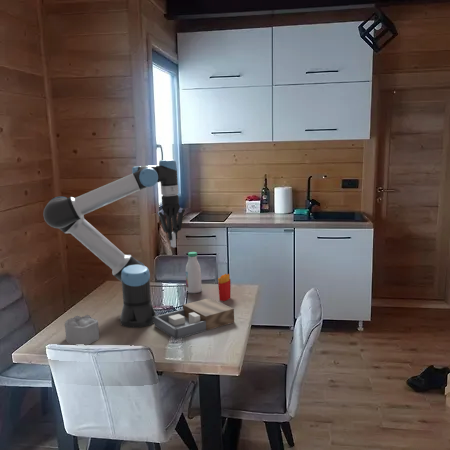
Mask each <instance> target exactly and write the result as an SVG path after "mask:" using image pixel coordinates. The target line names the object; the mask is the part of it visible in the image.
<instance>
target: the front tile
mask: <svg viewBox="0 0 450 450" xmlns="http://www.w3.org/2000/svg"><path fill="white" fill-rule="evenodd" d="M197 322H200V315H198V314H196V313H195V312H192V313H189V325H190V324H193V323H197Z"/></svg>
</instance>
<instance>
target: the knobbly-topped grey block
mask: <svg viewBox="0 0 450 450" xmlns="http://www.w3.org/2000/svg"><path fill="white" fill-rule="evenodd" d="M64 330H65V341H66V342H67V343H68V344H69V343H70V345H73V344H84V345H85V346H89V345H91V344H92V343H94V342H96V341H98V340H99V339H100V330H99V320H98V319H96V318H93V317H92V316H90V315H88V314H86V315H84V316H80V315H75V316H74V317H70V318H69V319H66V320H65V322H64Z"/></svg>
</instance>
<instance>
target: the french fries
mask: <svg viewBox="0 0 450 450" xmlns="http://www.w3.org/2000/svg"><path fill="white" fill-rule="evenodd" d="M230 275H231V274H230V273H225V274H221V276H220V277H218V278H217V285H218V295H219V297H218V298H219V302H220V301H221V302H225V301H228V300H230V299H231V291H232V290H231V288H232V287H231V285H232V284H231V283H232V282H231V281H232V280H231V278H230V277H231V276H230Z"/></svg>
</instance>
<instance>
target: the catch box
mask: <svg viewBox="0 0 450 450" xmlns="http://www.w3.org/2000/svg"><path fill="white" fill-rule="evenodd" d="M176 314H180V315H182V316H184V317H185V313H184V309H183V308H182V309H178V310H174V311H170V312H168V313H167V312H166V313H163V314H158V315H156V316H154V323H153V324H154V327H156V328H157V329H159V330H160V331H161V332H163V331H164V332H163V333H165V334H166V333H167V335H168V336H170V337H171V338H173V339H174V338H175V339H174V340H179V339H181V338H186V337H188V336H192V334H193V335H195V334H199V333H203V332H206V331H207V330H206V321H205V320H204V321H201V322H197V323H193V324H190V325H189V318H187V317H185V323H183V324H179V325H176V326H174V325H173V324H171V323H169V316H172V315H176ZM185 336H186V337H185Z"/></svg>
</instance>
